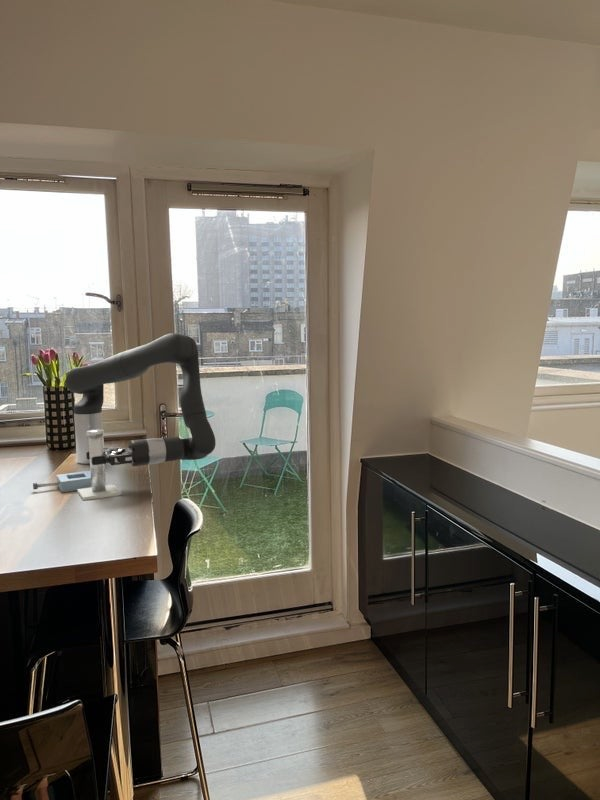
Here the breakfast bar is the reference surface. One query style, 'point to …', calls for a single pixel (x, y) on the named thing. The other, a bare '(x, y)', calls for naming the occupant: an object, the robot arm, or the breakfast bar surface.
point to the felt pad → (88, 494)
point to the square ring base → (69, 481)
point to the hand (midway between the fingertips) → (89, 458)
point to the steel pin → (94, 450)
